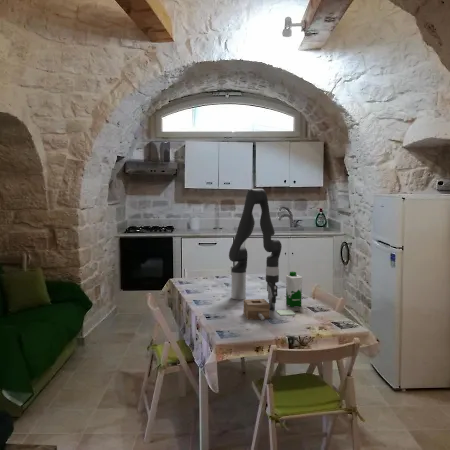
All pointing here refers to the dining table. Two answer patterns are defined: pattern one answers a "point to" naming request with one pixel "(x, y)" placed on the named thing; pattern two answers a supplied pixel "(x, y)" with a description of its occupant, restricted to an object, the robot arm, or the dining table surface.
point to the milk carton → (293, 289)
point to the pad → (285, 312)
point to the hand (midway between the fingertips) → (271, 301)
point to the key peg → (271, 301)
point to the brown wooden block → (256, 309)
